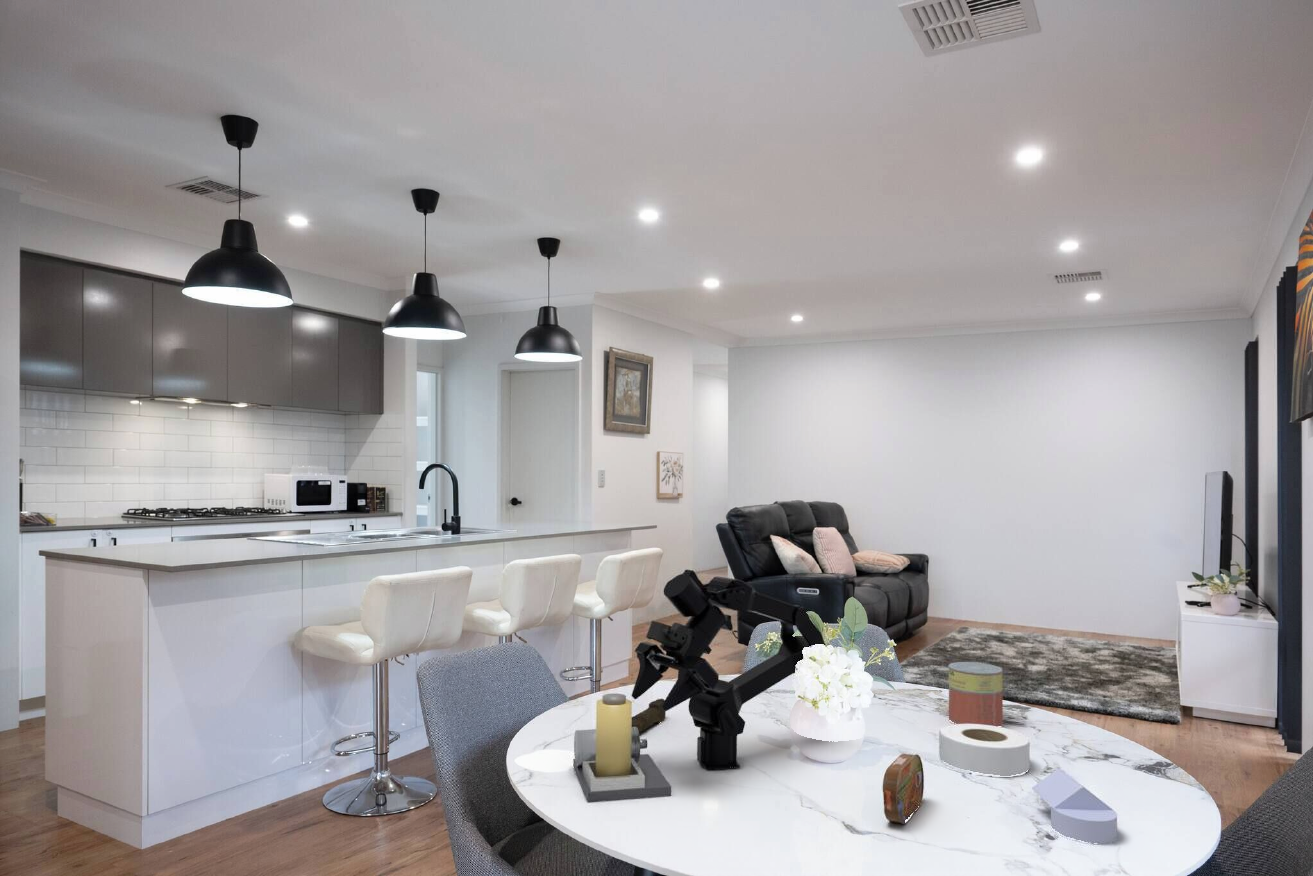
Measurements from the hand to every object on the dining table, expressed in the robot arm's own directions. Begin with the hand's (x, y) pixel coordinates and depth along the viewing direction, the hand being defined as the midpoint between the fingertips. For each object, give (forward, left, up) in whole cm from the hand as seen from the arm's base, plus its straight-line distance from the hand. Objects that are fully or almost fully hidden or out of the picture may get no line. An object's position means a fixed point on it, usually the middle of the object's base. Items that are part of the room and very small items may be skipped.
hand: (648, 703), depth 149 cm
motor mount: (+5, -1, -13) cm, 14 cm away
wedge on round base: (-61, +32, -14) cm, 70 cm away
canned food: (-79, -21, -14) cm, 83 cm away
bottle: (+6, +3, -12) cm, 14 cm away
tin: (-37, +22, -14) cm, 45 cm away
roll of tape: (-64, +3, -14) cm, 66 cm away
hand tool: (-6, -31, -14) cm, 35 cm away
